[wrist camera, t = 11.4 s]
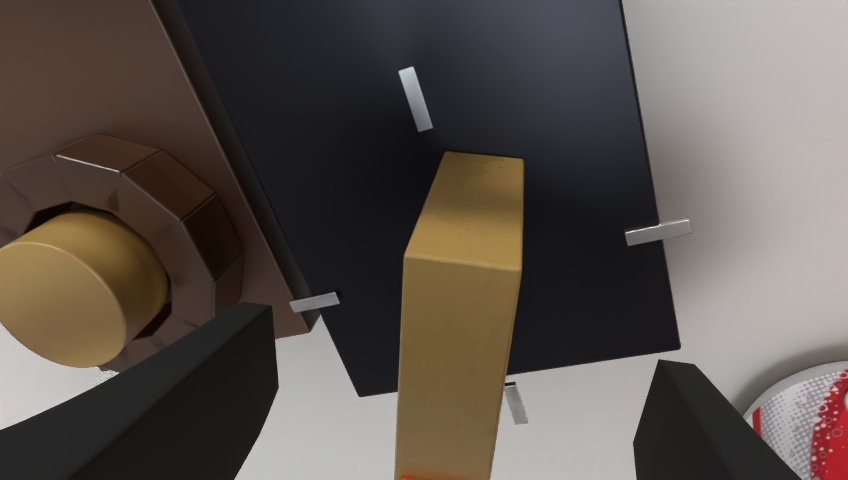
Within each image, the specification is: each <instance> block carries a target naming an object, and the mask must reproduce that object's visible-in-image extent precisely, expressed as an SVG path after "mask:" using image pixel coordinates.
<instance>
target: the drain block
mask: <svg viewBox="0 0 848 480" xmlns="http://www.w3.org/2000/svg"><path fill="white" fill-rule="evenodd" d="M74 209H93V210H98V211H102V212H105V213H108V214H111V215H113V216H116V217H118V218H120V219H121V220H122V221H123V222H125V223H126V224H127V225H129V226H130V227H131V228H132V229H134V230H135V231H136V232H138V233H139V234H140V235H141V236H143V237H144V238H145V239H147V240H148V241H149V242H150V244H151V245H152V247H153V249H154V251H155V252H156V254H157V256H158V258H159V259H160V261H161V263H162V265H163V266H164V268H165V270H166V274H167V279H168V294H167V298H166V302H165V304H164V307H163V308H162V310H161V311H160V312H159V313H158V314H157V315H156V316H155V317H154V318H153V319H152V320H151V321H150V322H149V323H148V324H147V325H146V326H145V327H144V328H143V329H142V330H141V331H140V332H139V333H138V334H137V335H136V336H135V338H134V339H133V340H132V341H131V342H130V343H129V344H128V345H127V346H126V347H125V348H124V349H123V350H122V351H121V352H120V353H119V354H118V355H117V356H116V357H115V358H113V359H112V360H110V361H109V362H107V363H104V364H102V365H99V366H97V367H99V369H100V370H101V371H108V370H112V371H115V372H119V373H121V372H123V371H125V370H127V369H128V368H130V367H132V366H134V365H136V364H137V363H139V362H141V361H143V360H145V359H147V358H148V357H150V356H152V355H153V354H155V353H157V352H158V351H160V350H162V349H163V348H165V347H167V346H168V345H170V344H172V343H173V342H175V341H177V340H178V339H180V338H182V337H183V336H185V335H187V334H188V333H190V332H192V331H193V330H195V329H196V328H198V327H200V326H201V325H203V324H204V323H206V322H208V321H209V320H211V319H213V318H214V317H216V316H218V315H219V314H221V313H222V312H224V311H226V310H228V309H229V308H231V307H233V306H235V305H236V304H238V303H240V302H242V301H243V302H250V303H257V304H265V305H272V311H273V323H274V335H275V339H278V338H284V337H289V336H294V335H300V334H305V333H309V332H311V330H312V329H313V327H314V325H315V323H316V321H317V320H318V318H319V316H320V312H319V310H318V308H315V309H310V310H305V311H300V312H295V313H294V311H293V309H292V307H291V305H290V303H289V302H290V300H291V299H295V298H299V297H304V296H309V295H311V293H310V290H309V288H308V286H307V284H306V282H305V280H304V277H303V275H302V273H301V271H300V269H299V267H298V264H297V262H296V260H295V258H294V256H293V254H292V251H291V249H290V247H289V245H288V243H287V241H286V238H285V236H284V234H283V232H282V230H281V228H280V225H279V223H278V221H277V219H276V217H275V215H274V212H273V210H272V208H271V206H270V204H269V202H268V200H267V197H266V195H265V193H264V191H263V189H262V187H261V184H260V182H259V180H258V178H257V176H256V174H255V171H254V169H253V167H252V165H251V163H250V161H249V158H248V156H247V154H246V152H245V150H244V148H243V145H242V143H241V141H240V139H239V137H238V135H237V132H236V130H235V128H234V126H233V124H232V122H231V119H230V117H229V115H228V113H227V111H226V109H225V107H224V104H223V102H222V100H221V98H220V96H219V94H218V91H217V89H216V87H215V85H214V83H213V81H212V78H211V76H210V74H209V72H208V70H207V68H206V65H205V63H204V61H203V59H202V57H201V55H200V52H199V50H198V48H197V46H196V44H195V42H194V39H193V37H192V35H191V33H190V31H189V29H188V27H187V24H186V22H185V20H184V18H183V16H182V14H181V11H180V9H179V7H178V5H177V3H176V1H175V0H0V249H1V248H2V247H4V246H6V245H7V244H9V243H11V242H12V241H14V240H16V239H18V238H19V237H21V236H23V235H25V234H26V233H28V232H30V231H31V230H33V229H35V228H37V227H38V226H40V225H42V224H44V223H45V222H47V221H49V220H50V219H52V218H54V217H56V216H57V215H59V214H61V213H63V212H66V211H69V210H74Z"/></svg>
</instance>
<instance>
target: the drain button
mask: <svg viewBox="0 0 848 480" xmlns="http://www.w3.org/2000/svg"><path fill="white" fill-rule="evenodd" d="M167 294H168V279H167V274H166V270H165V268H164V266H163V265H162V263H161V261H160V259H159V258H158V256H157V254H156V252H155V251H154V249H153V247H152V245H151V244H150V242H149V241H148V240H147V239H145V238H144V237H143V236H141V235H140V234H139V233H138V232H136V231H135V230H134V229H132V228H131V227H130V226H129V225H127V224H126V223H125V222H123V221H122V220H121V219H120V218H118V217H116V216H113V215H111V214H108V213H105V212H102V211H98V210H93V209H74V210H69V211H66V212H63V213H61V214H59V215H57V216H56V217H54V218H52V219H50V220H49V221H47V222H45V223H44V224H42V225H40V226H38V227H37V228H35V229H33V230H31V231H30V232H28V233H26V234H25V235H23V236H21V237H19V238H18V239H16V240H14V241H12V242H11V243H9V244H7V245H6V246H4V247H2V248H1V249H0V322H1V323H2V324H3V326H4V327H5V328H6V329H7V330H8V331H9V333H10V334H11V335H12V336H13V337H14V338H16V339H17V340H18V341H19V342H20V343H21V344H23V345H24V346H25V347H27V348H28V349H30V350H31V351H33V352H34V353H36V354H38V355H40V356H41V357H43V358H45V359H48V360H50V361H52V362H55V363H58V364H61V365H65V366H70V367H78V368H88V367H95V366H99V365H102V364H104V363H107V362H109V361H110V360H112V359H113V358H115V357H116V356H117V355H118V354H119V353H120V352H121V351H122V350H123V349H124V348H125V347H126V346H127V345H128V344H129V343H130V342H131V341H132V340H133V339H134V338H135V336H136V335H137V334H138V333H139V332H140V331H141V330H142V329H143V328H144V327H145V326H146V325H147V324H148V323H149V322H150V321H151V320H152V319H153V318H154V317H155V316H156V315H157V314H158V313H159V312H160V311H161V310H162V308H163V307H164V304H165V302H166V298H167Z"/></svg>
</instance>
